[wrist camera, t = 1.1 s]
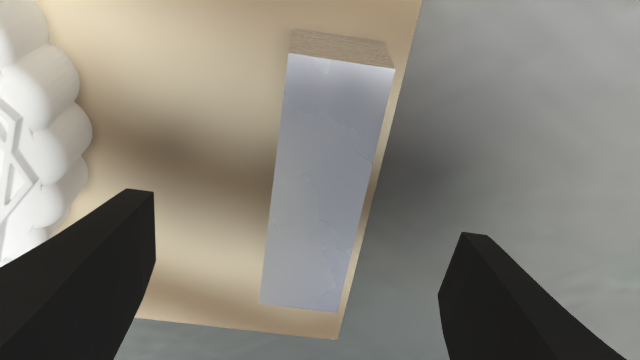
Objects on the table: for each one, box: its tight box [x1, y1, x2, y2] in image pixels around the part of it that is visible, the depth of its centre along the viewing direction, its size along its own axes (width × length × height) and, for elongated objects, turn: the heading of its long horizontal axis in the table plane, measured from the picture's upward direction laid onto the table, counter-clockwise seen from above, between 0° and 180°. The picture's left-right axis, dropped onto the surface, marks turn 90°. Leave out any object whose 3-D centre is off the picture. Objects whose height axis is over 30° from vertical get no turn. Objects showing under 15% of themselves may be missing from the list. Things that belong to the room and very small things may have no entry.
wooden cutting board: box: [34, 0, 423, 340], centre depth 14 cm, size 16×22×3 cm
